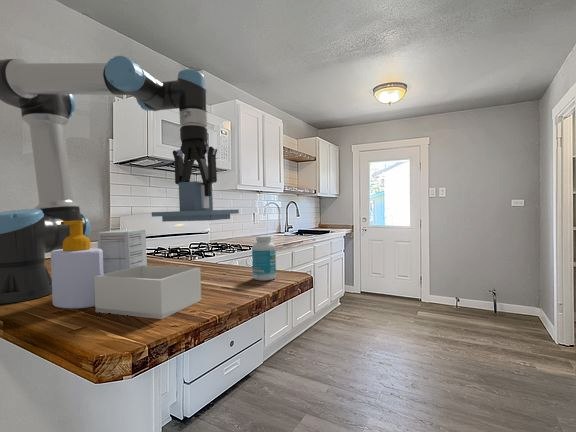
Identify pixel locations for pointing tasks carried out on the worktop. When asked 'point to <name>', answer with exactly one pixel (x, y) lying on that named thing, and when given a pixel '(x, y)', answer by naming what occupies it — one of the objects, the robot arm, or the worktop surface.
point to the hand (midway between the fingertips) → (196, 208)
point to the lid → (194, 206)
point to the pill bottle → (264, 259)
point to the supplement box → (122, 249)
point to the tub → (147, 291)
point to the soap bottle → (75, 270)
